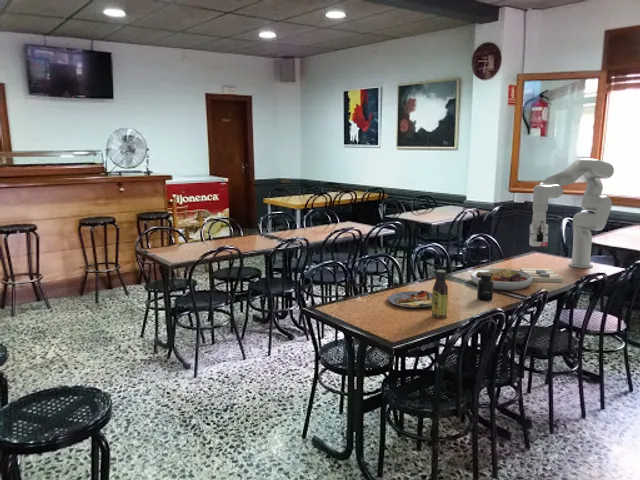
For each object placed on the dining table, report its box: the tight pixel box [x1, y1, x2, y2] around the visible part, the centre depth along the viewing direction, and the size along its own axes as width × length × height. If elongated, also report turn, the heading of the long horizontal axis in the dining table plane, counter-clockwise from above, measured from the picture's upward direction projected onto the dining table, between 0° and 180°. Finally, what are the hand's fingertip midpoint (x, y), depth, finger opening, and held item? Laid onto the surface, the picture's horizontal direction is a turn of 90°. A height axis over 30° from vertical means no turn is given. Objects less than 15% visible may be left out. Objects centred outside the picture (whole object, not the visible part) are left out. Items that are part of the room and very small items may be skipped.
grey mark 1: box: [536, 270, 546, 274], centre depth 274 cm, size 4×4×2 cm
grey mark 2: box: [539, 273, 550, 277], centre depth 268 cm, size 4×4×2 cm
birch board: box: [519, 267, 564, 283], centre depth 275 cm, size 22×16×2 cm
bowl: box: [470, 267, 533, 291], centre depth 263 cm, size 30×30×8 cm
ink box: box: [528, 223, 549, 247], centre depth 280 cm, size 9×5×12 cm, turn 84°
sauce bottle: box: [431, 269, 449, 319], centre depth 211 cm, size 6×6×20 cm
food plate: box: [387, 290, 433, 308], centre depth 233 cm, size 25×23×4 cm
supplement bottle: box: [476, 273, 494, 302], centre depth 235 cm, size 7×7×12 cm
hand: (538, 240), depth 280 cm, fingers closed on ink box, 5 cm apart
